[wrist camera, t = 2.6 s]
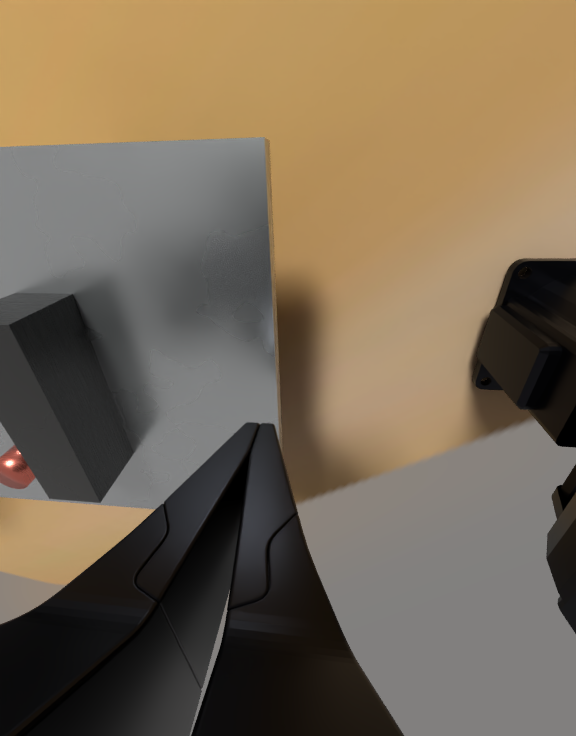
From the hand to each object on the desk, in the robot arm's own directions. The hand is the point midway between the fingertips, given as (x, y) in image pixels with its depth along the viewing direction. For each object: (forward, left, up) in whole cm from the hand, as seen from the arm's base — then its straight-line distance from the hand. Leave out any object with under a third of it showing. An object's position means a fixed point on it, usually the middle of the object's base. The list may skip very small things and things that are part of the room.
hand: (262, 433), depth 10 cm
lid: (+7, 0, -3) cm, 8 cm away
